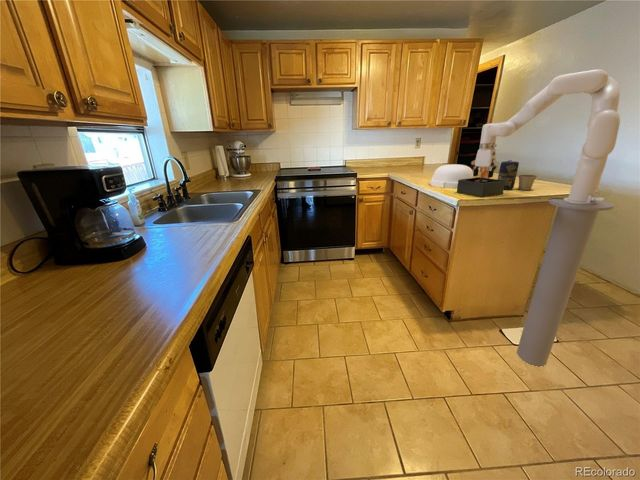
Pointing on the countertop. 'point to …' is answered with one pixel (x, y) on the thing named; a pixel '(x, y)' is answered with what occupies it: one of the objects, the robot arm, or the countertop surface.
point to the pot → (481, 181)
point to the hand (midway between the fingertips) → (482, 176)
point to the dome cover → (450, 175)
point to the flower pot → (526, 181)
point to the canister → (508, 173)
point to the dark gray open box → (480, 187)
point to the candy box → (483, 172)
